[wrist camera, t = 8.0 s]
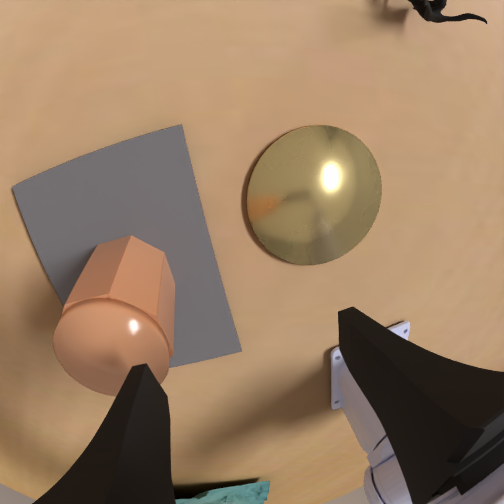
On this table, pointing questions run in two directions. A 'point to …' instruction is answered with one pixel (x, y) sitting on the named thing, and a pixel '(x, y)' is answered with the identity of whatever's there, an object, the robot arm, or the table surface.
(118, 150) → the charcoal mat
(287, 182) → the brass token
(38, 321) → the table surface
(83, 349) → the octagonal domed knob
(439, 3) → the creature
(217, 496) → the terrain model
